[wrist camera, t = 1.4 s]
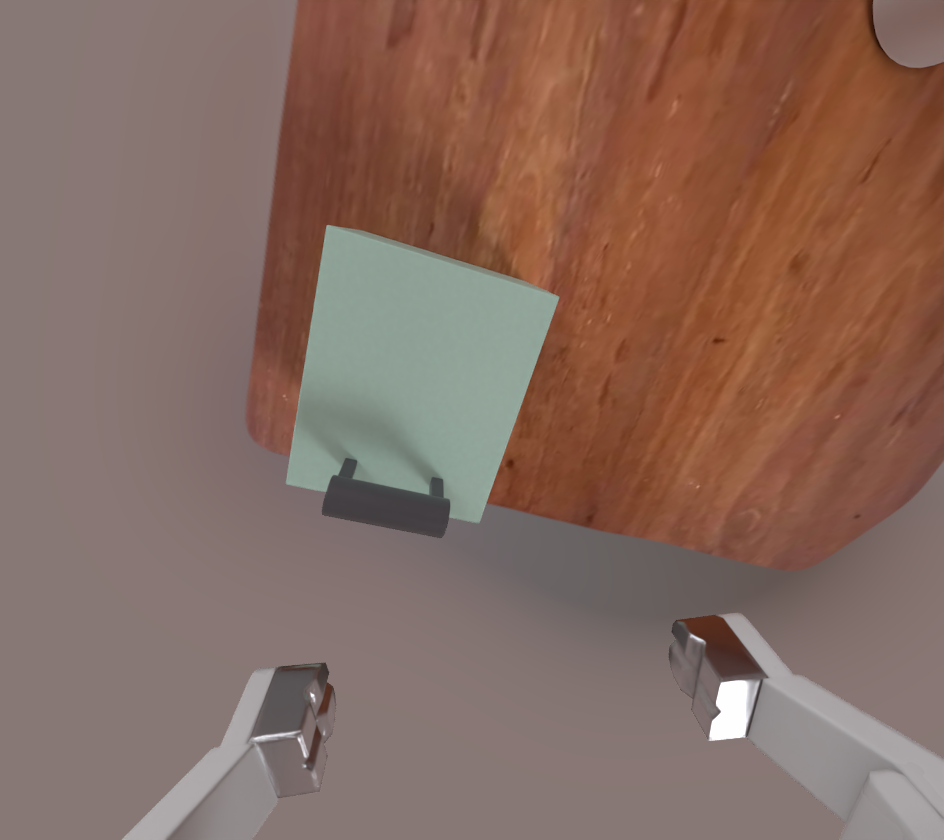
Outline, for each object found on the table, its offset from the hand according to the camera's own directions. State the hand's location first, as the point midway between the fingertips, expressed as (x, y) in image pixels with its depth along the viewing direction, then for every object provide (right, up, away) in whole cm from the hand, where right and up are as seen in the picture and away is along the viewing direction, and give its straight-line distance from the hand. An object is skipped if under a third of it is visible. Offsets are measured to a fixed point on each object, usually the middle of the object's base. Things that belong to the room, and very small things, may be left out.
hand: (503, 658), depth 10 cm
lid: (-4, +7, +14) cm, 16 cm away
